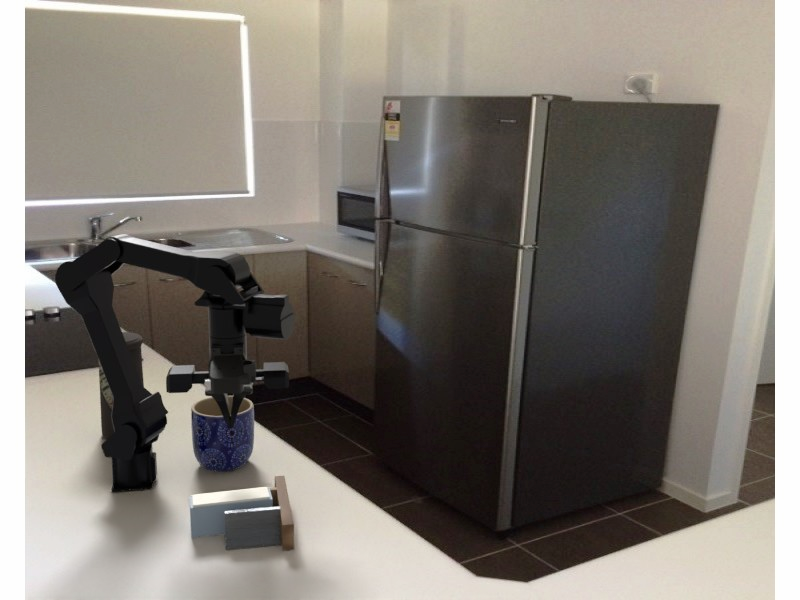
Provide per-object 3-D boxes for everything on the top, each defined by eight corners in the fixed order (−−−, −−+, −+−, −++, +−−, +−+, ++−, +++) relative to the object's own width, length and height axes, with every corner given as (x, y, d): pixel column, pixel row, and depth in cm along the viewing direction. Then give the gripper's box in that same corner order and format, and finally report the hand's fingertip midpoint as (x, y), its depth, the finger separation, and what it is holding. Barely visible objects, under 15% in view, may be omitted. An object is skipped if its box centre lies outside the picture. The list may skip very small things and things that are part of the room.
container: (90, 436, 148) (84, 337, 143) (123, 421, 156) (118, 326, 151) (126, 444, 144) (120, 343, 140) (157, 428, 153) (153, 332, 148)
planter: (242, 480, 131) (240, 419, 129) (182, 474, 133) (180, 413, 130) (263, 454, 142) (262, 397, 139) (207, 449, 143) (206, 393, 141)
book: (191, 539, 112) (190, 506, 111) (190, 526, 116) (189, 494, 115) (273, 529, 116) (272, 497, 115) (269, 516, 120) (269, 485, 118)
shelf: (225, 556, 108) (225, 530, 107) (224, 502, 123) (224, 480, 122) (293, 549, 110) (293, 524, 109) (284, 497, 125) (284, 475, 124)
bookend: (225, 550, 109) (225, 521, 108) (225, 538, 112) (224, 510, 111) (281, 544, 111) (281, 516, 110) (280, 533, 114) (279, 506, 113)
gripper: (159, 350, 110) (164, 451, 113) (289, 346, 113) (291, 444, 116) (168, 330, 120) (172, 423, 124) (287, 327, 124) (288, 418, 127)
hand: (230, 427), depth 122 cm, fingers closed
